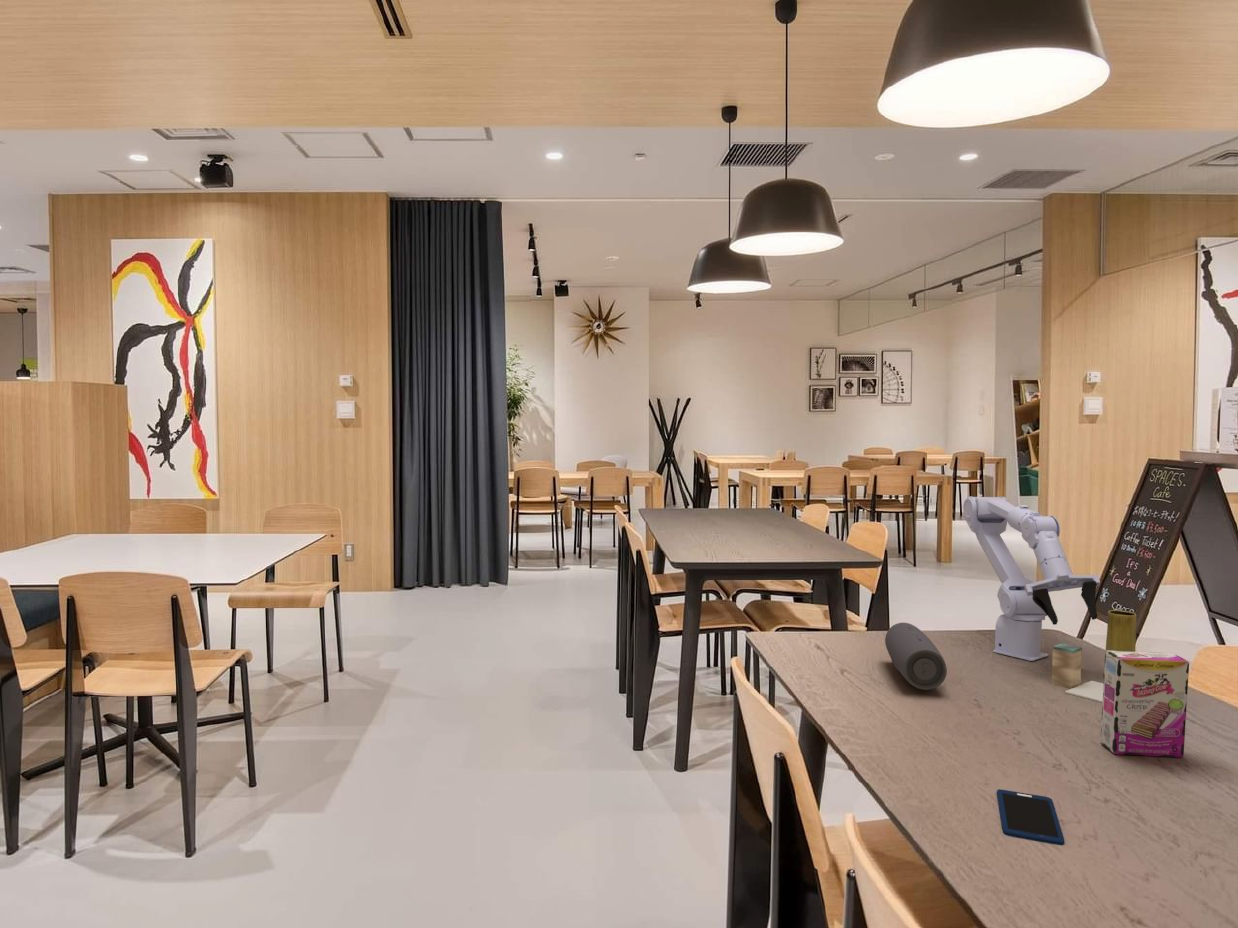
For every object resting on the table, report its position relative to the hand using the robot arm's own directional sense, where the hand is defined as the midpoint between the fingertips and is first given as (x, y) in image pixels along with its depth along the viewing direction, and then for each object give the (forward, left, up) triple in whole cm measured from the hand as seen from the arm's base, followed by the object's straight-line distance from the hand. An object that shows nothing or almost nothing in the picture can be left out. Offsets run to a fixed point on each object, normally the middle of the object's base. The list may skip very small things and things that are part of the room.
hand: (1075, 620), depth 169 cm
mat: (+7, -3, -13) cm, 15 cm away
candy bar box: (+24, -29, -13) cm, 40 cm away
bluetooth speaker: (-21, -26, -13) cm, 36 cm away
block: (0, -3, -13) cm, 14 cm away
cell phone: (+24, -67, -14) cm, 72 cm away
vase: (+5, +11, -13) cm, 18 cm away
